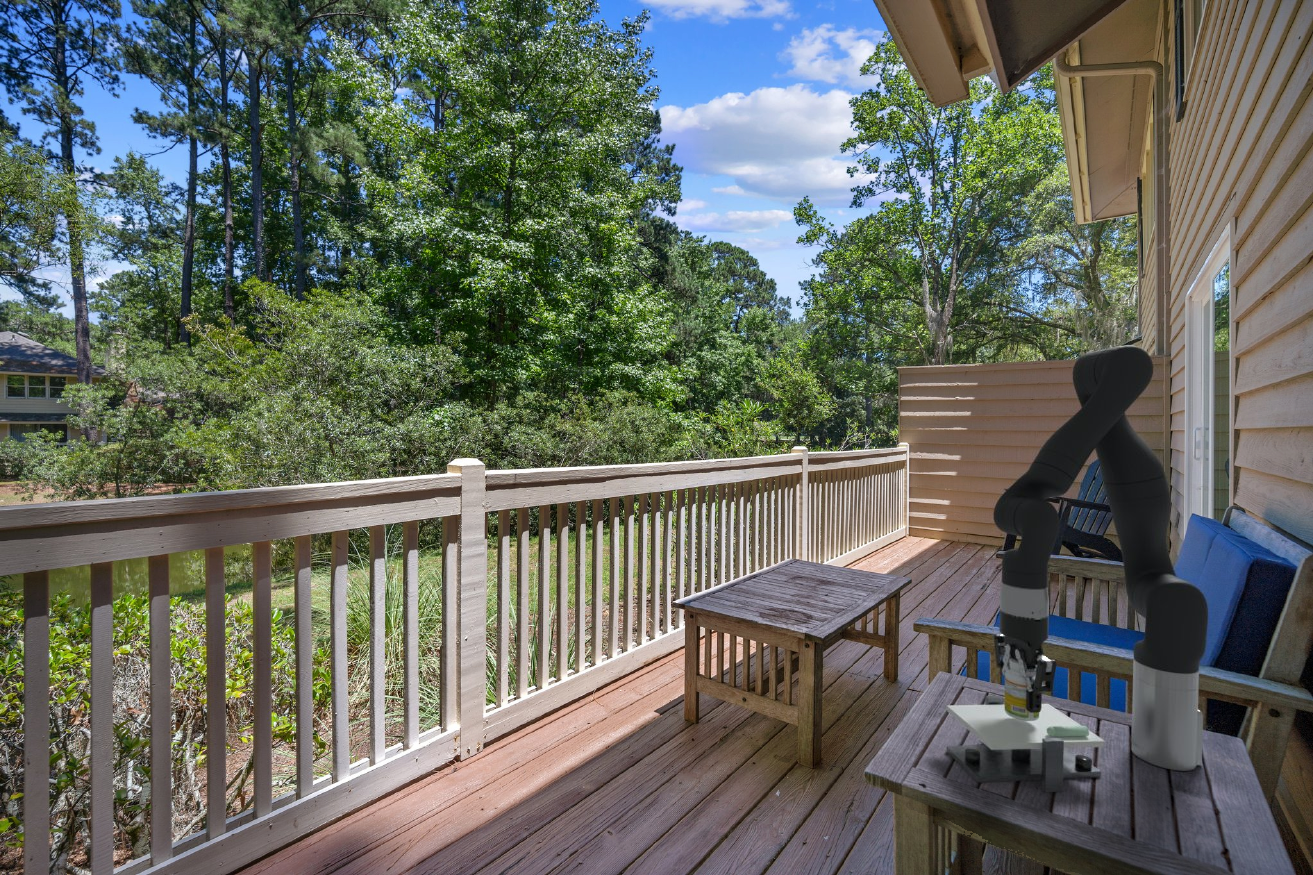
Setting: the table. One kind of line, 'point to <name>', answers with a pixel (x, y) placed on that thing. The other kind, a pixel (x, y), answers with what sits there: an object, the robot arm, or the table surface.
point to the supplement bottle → (1017, 693)
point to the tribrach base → (1024, 761)
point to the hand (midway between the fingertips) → (1022, 703)
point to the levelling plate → (1022, 728)
